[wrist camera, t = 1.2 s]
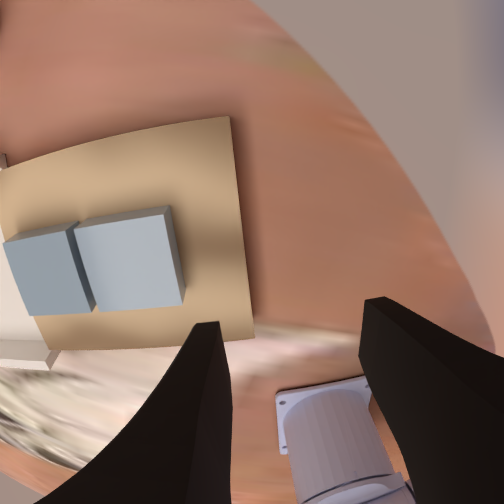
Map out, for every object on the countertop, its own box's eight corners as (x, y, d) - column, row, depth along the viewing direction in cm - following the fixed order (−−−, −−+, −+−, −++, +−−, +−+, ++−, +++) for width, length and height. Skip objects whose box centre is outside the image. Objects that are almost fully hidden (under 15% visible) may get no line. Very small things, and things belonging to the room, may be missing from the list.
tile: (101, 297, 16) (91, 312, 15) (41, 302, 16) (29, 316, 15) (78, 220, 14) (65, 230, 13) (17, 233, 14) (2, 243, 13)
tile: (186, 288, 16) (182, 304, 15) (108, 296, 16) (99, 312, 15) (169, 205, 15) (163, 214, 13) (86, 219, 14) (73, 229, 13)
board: (252, 318, 20) (255, 338, 18) (59, 333, 19) (49, 349, 17) (228, 117, 15) (229, 115, 13) (7, 168, 15) (-12, 175, 13)
